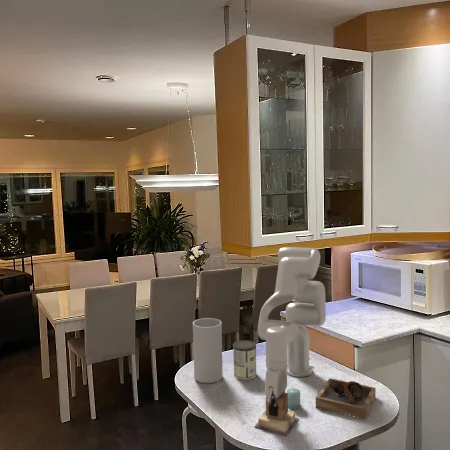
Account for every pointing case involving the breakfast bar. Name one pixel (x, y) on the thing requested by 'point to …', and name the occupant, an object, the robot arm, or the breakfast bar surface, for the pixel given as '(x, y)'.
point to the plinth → (277, 423)
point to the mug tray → (341, 406)
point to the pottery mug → (349, 391)
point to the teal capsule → (293, 398)
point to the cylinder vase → (207, 350)
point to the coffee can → (244, 359)
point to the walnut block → (279, 406)
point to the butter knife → (238, 415)
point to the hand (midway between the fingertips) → (277, 410)
